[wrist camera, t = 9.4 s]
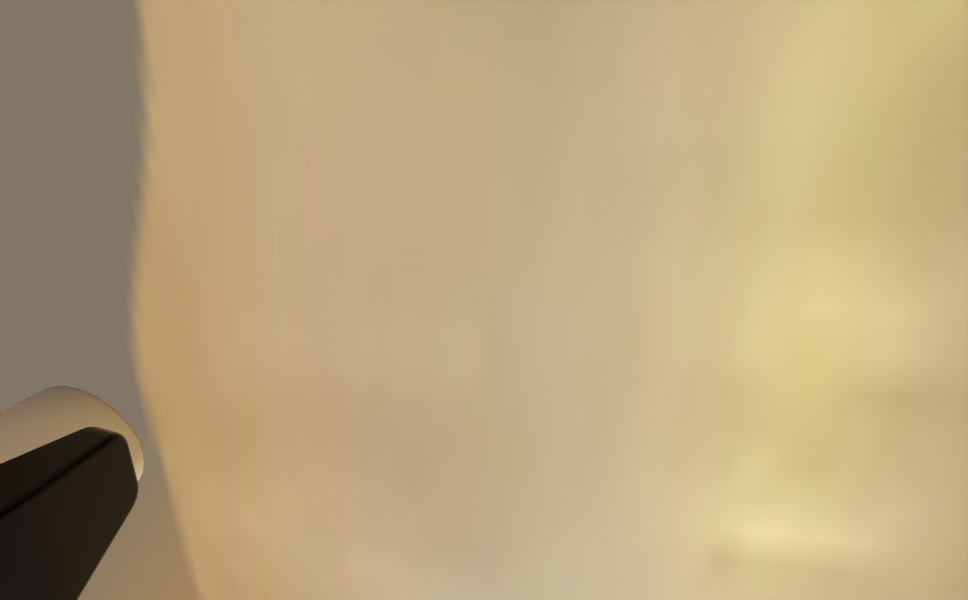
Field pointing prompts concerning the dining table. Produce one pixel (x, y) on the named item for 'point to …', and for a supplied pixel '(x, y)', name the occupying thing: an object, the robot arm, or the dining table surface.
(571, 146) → the dining table surface
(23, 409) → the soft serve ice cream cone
